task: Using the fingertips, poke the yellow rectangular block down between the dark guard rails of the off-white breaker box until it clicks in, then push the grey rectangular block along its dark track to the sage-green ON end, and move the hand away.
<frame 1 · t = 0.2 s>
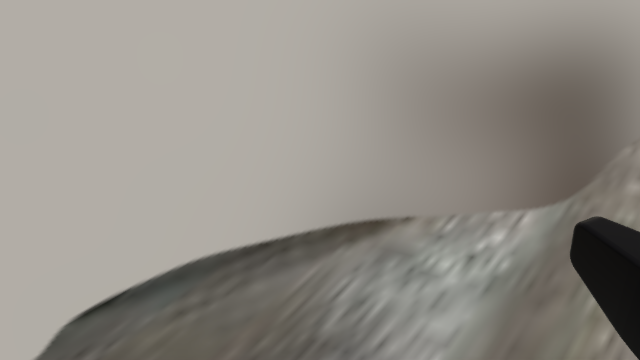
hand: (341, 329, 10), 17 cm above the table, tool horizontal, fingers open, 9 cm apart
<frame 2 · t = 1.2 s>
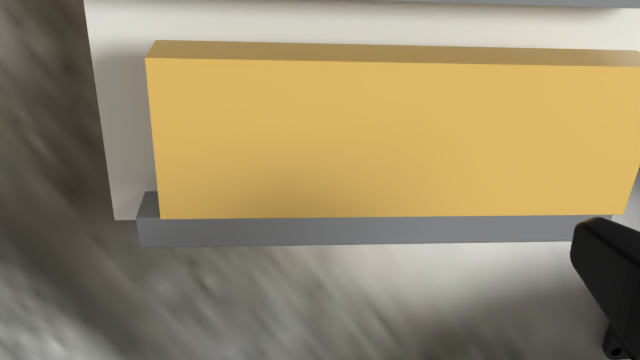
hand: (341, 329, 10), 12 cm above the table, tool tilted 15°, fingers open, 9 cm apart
yellow rectangular block: (404, 132, 14), point 6 cm above the table, slide at 0.0 cm
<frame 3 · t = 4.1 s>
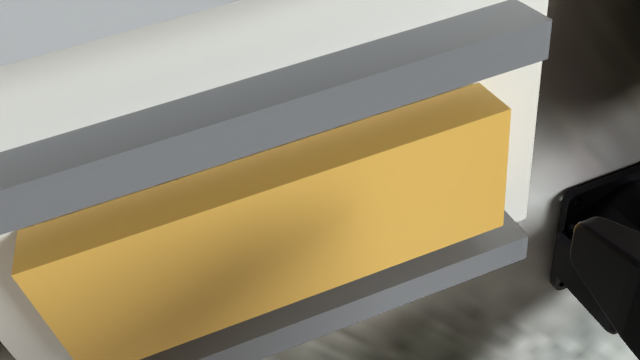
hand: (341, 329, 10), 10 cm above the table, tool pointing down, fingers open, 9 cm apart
yellow rectangular block: (286, 228, 15), point 5 cm above the table, slide at 1.6 cm
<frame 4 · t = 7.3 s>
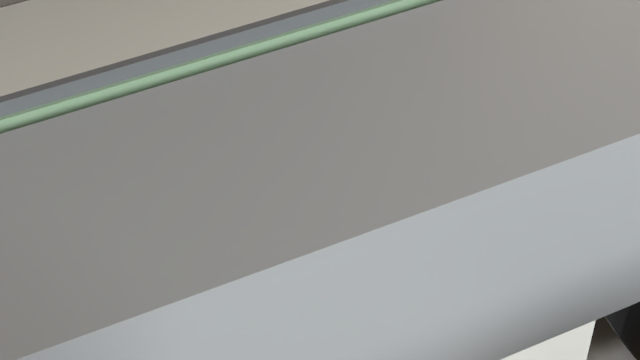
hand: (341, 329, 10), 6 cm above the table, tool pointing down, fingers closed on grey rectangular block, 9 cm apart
grey rectangular block: (322, 216, 8), point 7 cm above the table, slide at 7.3 cm, touching gripper
breaker box: (301, 298, 18), on the table
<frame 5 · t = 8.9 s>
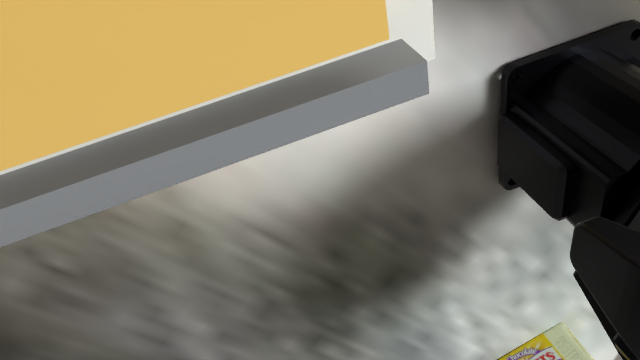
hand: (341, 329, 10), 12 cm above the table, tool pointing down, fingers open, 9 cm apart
yellow rectangular block: (111, 27, 12), point 5 cm above the table, slide at 1.6 cm
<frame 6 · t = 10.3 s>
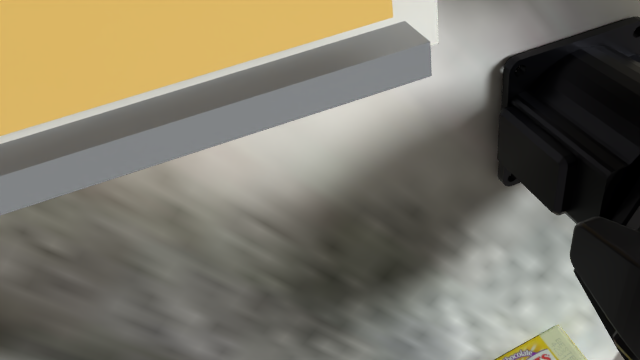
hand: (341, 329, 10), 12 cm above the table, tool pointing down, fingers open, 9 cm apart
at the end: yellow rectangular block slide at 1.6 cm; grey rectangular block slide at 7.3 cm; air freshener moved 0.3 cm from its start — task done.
